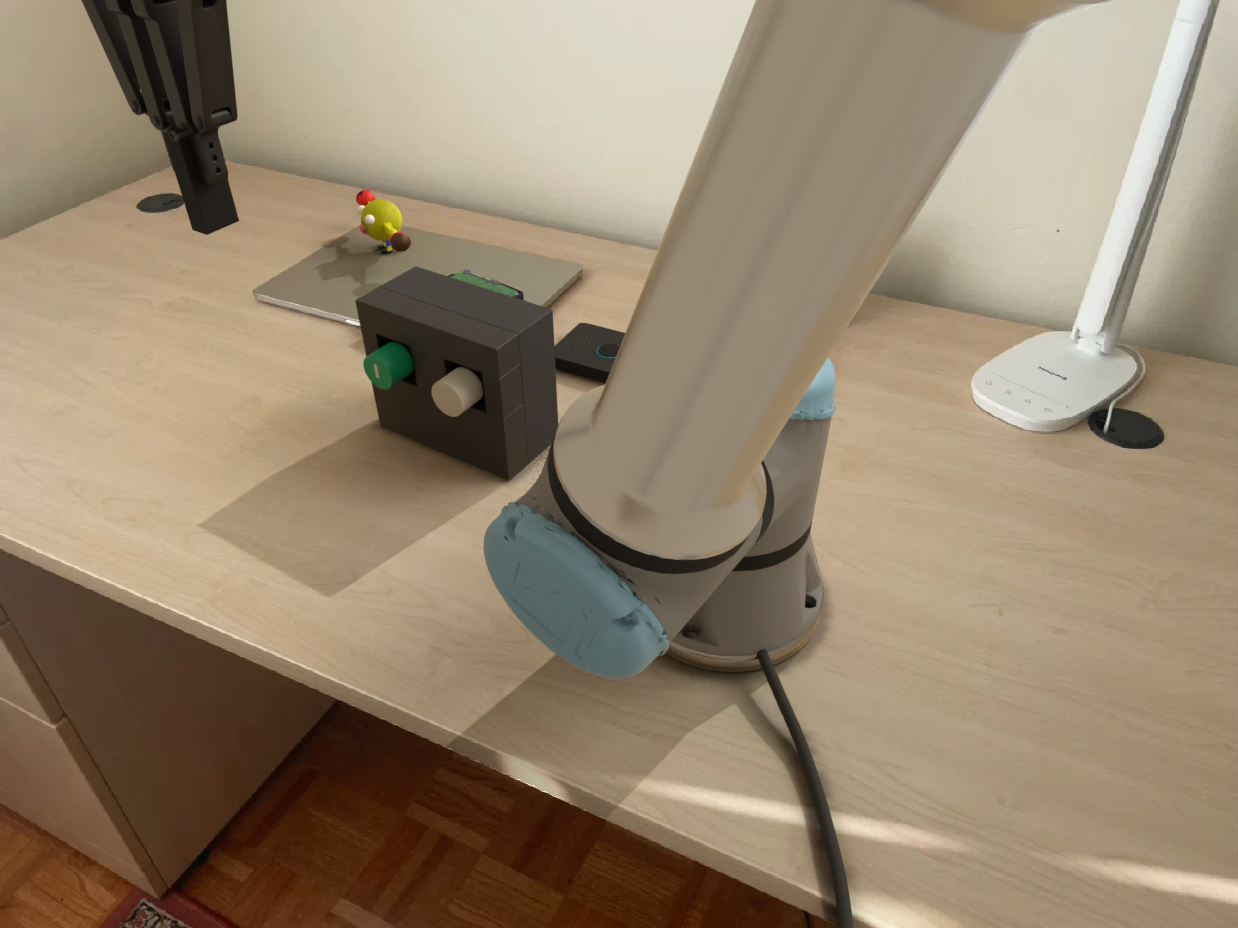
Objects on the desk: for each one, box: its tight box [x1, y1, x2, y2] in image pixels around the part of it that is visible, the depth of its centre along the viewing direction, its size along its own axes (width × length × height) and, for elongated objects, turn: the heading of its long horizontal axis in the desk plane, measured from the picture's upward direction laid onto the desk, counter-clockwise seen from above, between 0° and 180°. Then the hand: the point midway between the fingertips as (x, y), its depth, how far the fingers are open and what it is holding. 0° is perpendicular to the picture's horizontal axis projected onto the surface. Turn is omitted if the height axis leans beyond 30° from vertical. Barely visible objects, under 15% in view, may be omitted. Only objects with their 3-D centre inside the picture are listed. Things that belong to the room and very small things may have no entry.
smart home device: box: [554, 322, 626, 385], centre depth 97 cm, size 8×2×20 cm
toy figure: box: [355, 189, 412, 254], centre depth 119 cm, size 18×6×7 cm, turn 28°
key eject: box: [431, 367, 483, 417], centre depth 79 cm, size 3×3×3 cm
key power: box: [362, 342, 414, 389], centre depth 82 cm, size 3×3×3 cm
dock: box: [354, 265, 559, 482], centre depth 85 cm, size 8×16×14 cm, turn 58°
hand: (216, 225), depth 62 cm, fingers closed
